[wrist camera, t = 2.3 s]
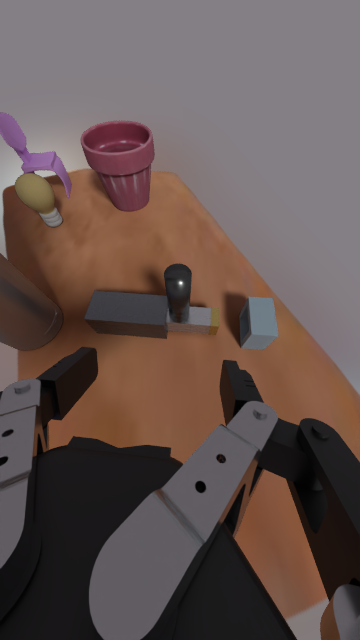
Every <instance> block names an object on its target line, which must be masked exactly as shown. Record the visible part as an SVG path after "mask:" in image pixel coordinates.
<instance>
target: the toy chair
mask: <svg viewBox="0 0 360 640" xmlns="http://www.w3.org/2000/svg"><path fill="white" fill-rule="evenodd" d="M0 134H1V135H2V137H3V138H4V140H5V141H6V143H7V144H8V145H9V146H11V147H12V148H14V150H15V151H16V152H17V154H18V155H19V156H20V158H21V159H22V160H23V162H24V163H23V165H22V167H21V168H22V170H23V171H24V174H26V173H32V174H35V173H34V171H37V170H51V171H54V172H55V173H56V174H57V175H58V176H59V177H60V178H61V180H62V181H63V183H64V186H65V189H66V193H67V198H69V195H70V191H71V186H72V184H71V182H70V179H69V177H68V174H67V172H66V169H65V167H64V165H63V163H62V161H61V160H60V158H59V157H58V156H57V155H56V153H55V152H46V153H30V154H29V152H28V151H27V149H26V137H25V135H24V133H23V132H22V130H21V128H20V127H19V125H18V124H17V122H16V121H15V119H14V118H13V117H12V116H10V115H9V114H6V113H3V112H0Z"/></svg>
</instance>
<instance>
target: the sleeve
mask: <svg viewBox="0 0 360 640" xmlns="http://www.w3.org/2000/svg"><path fill="white" fill-rule="evenodd" d="M167 306H168V301H167V296H163V295H149V294H135V293H121V292H107V291H94V293H93V296H92V298H91V301H90V304H89V307H88V309H87V312H86V315H85V317H84V320H85V321H86V322H87V323H88V324H89V325H90V326H91V327H92V328H93V329H94V330H95V331H96V332H97V333H104V334H116V335H128V336H140V337H152V338H164V339H167V333H168V331H166V326H165V320H166V313H167Z"/></svg>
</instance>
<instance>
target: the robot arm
mask: <svg viewBox="0 0 360 640" xmlns="http://www.w3.org/2000/svg"><path fill="white" fill-rule="evenodd" d="M62 322H63V314H62V311H61V309H60V308H59V307H58V306H57V305H56V304H55V303H54V302H53V301H52V300H50V299H49V298H48V297H47V296H46V295H45V294H44V293H43V292H42V291H41V290H40V289H39V288H38V287H37V286H35V285H34V284H33V283H32V282H31V281H30V280H29V279H28V278H27V277H26V276H25V275H23V274H22V273H21V272H20V271H19V270H18V269H17V268H16V267H15V266H14V265H13V264H11V263H10V262H9V261H8V260H7V259H6V258H5V257H4V256H3V255H2V254H0V342H2V343H4V344H6V345H8V346H11V347H13V348H15V349H18V350H33V349H36V348H39V347H41V346H43V345H45V344H46V343H48V342H49V341H50V340H52V339H53V338H54V337H55V335H56V334H57V333H58V332H59V330H60V328H61V325H62ZM97 374H98V363H97V351H96V349H95V348H89V347H81V348H80V349H79V350H77V351H76V352H75V353H74V354H71V355H69V356H67V357H64V358H63V359H61V360H60V361H59V362H58V363H56V364H55V365H53V367H51V368H49V369H48V370H47V371H45V372H44V373H43V374H41V375H40V376H39V377H37V378H36V379H25V380H21V381H18V382H15V383H13V384H11V385H9V386H8V387H6V388H5V389H4V391H1V392H0V640H297V639H296V637H295V635H294V634H293V632H292V630H291V629H290V627H289V626H288V624H287V622H286V621H285V619H284V618H283V616H282V614H281V613H280V611H279V610H278V608H277V606H276V605H275V603H274V602H273V600H272V598H271V597H270V595H269V594H268V592H267V590H266V589H265V587H264V586H263V584H262V582H261V581H260V579H259V577H258V576H257V574H256V573H255V571H254V569H253V568H252V566H251V565H250V563H249V561H248V560H247V558H246V557H245V555H244V553H243V552H242V550H241V549H240V547H239V545H238V544H237V542H236V541H235V539H234V538H235V536H236V534H237V532H238V529H239V527H240V525H241V522H242V519H243V517H244V514H245V511H246V508H247V506H248V503H249V501H250V499H251V497H252V495H253V493H254V491H255V489H256V486H257V484H258V482H259V480H260V478H261V476H262V474H263V472H264V469H265V470H267V471H270V472H272V473H274V474H276V475H279V476H281V477H283V478H286V480H287V483H288V486H289V489H290V492H291V495H292V497H293V500H294V503H295V506H296V509H297V512H298V514H299V517H300V520H301V523H302V526H303V529H304V531H305V534H306V537H307V540H308V543H309V546H310V548H311V551H312V554H313V557H314V560H315V563H316V565H317V568H318V571H319V574H320V577H321V580H322V582H323V585H324V588H325V591H326V594H327V597H328V599H329V604H328V606H327V607H326V609H325V611H324V613H323V615H322V617H321V623H320V632H321V640H360V462H359V461H358V459H357V458H356V457H355V455H354V454H353V453H352V451H351V450H350V449H349V447H348V446H347V445H346V443H345V442H344V441H343V439H342V438H341V437H340V435H339V434H338V433H337V432H336V431H335V430H334V429H333V428H332V427H330V426H329V425H327V424H325V423H323V422H321V421H319V420H316V419H311V418H305V419H303V420H301V422H300V424H299V425H296V424H293V423H290V422H287V421H284V420H281V419H279V418H278V416H277V414H276V412H275V411H274V410H273V409H272V408H271V407H270V406H268V405H266V404H264V402H263V400H262V398H261V396H260V394H259V392H258V389H257V387H256V385H255V383H254V381H253V379H252V377H251V375H250V374H249V373H248V372H247V371H246V370H240V369H239V367H238V364H237V362H236V361H231V360H223V364H222V371H221V379H220V395H221V401H222V407H223V412H224V418H225V423H226V427H225V426H224V425H222V424H220V425H219V426H218V427H217V428H216V429H215V430H214V431H213V432H212V433H211V434H210V435H209V437H208V438H207V439H206V440H205V441H204V442H203V443H202V444H201V446H200V447H199V448H198V449H197V450H196V451H195V452H194V453H193V454H192V456H191V457H190V458H189V459H188V460H187V461H186V462H185V463H184V464H182V463H181V462H180V461H178V460H176V459H174V458H172V457H170V454H171V448H168V447H160V446H151V445H142V446H133V447H125V448H117V447H115V446H112V445H110V444H107V443H105V442H103V441H100V440H98V439H92V438H83V437H75V436H73V438H72V439H71V441H70V442H69V444H68V445H65V446H60V447H57V448H53V449H51V450H49V425H48V422H49V421H50V420H51V419H53V420H62V419H63V418H64V417H65V415H66V414H67V413H68V412H69V411H70V409H71V408H72V407H73V406H74V405H75V403H76V402H77V401H78V400H79V399H80V397H81V396H82V395H83V394H84V393H85V391H86V390H87V389H88V388H89V387H90V385H91V384H92V383H93V382H94V381H95V379H96V377H97Z"/></svg>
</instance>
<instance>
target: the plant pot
mask: <svg viewBox="0 0 360 640" xmlns="http://www.w3.org/2000/svg"><path fill="white" fill-rule="evenodd" d="M81 145H82V148H83V151H84V153H85V156H86V159H87V162H88V164H89V166H90V167H91V168H92V169H93V170H95V171H96V172H97V174H98V176H99V178H100V180H101V182H102V184H103V186H104V187H105V189H106V191H107V193H108V195H109V197H110V198H111V200H112V202H113V204H114V206H115V207H116V208H118V209H119V210H122V211H136V210H139V209H141V208H143V207H145V206H146V205H147V203H148V202H149V193H150V175H151V163H152V161H153V160H154V144H153V137H152V132H151V130H150V129H149V128H148V127H147V126H145V125H143V124H141V123H137V122H132V121H111V122H105V123H100V124H97V125H95V126H92V127H90V128H89V129H88V130H86V131H85V132H84V133H83V134H82V136H81Z"/></svg>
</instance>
